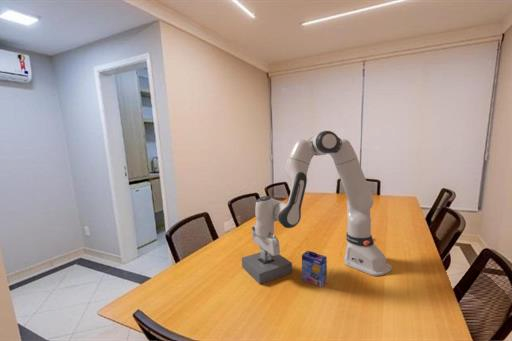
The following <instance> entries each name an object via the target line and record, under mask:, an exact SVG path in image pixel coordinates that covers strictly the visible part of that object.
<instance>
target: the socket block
mask: <svg viewBox="0 0 512 341" xmlns="http://www.w3.org/2000/svg"><path fill="white" fill-rule="evenodd" d="M241 267H242V268H243V269H244V271H245V272H247V273H248V275H249V276H251V277H252V279H254V280H255V282H256V283H258V284H259V285H262V284H264V283H267V282H270V281H273V280H276V279H278V278H281V277H283V276H284V277H285V276H286V275H289V274H293V262H292V261H291V260H288V259H287V258H286V257H284V256H283V255H281V254H279V255H276V256H272V262H271V263H268V264H262V263H261V257H260V252H257V253H253V254H250V255H245V256H243V257H241Z"/></svg>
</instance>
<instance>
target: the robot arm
mask: <svg viewBox="0 0 512 341" xmlns="http://www.w3.org/2000/svg"><path fill="white" fill-rule="evenodd" d="M327 154H328V155H329V156H330V157H331V158H332V160H333V163H334V165H335V168H336V172H337V173H338V176H339V179H340V181H341V184H342V187H343V190H344V193H345V196H346V207H347V208H346V210H347V212H346V213H347V217H346V218H347V223H346V224H347V231H346V236H345V237H346V238H345V239H346V248H345V252H344V255H343V256H344V257H343V260H344V265H345V266H348V267H350V268H353V269H355V270H358V271H360V272H363V273H366V274H368V275H370V276H373V277H375V276H376V277H379V276H383V275H386V274H388V273H390V272H391V271H392V268H393V267H392V265H391V264H389V263H387V259H386V258H387V257H386V255H385V253H383V252H382V250H381V249H380V248H379V247H378V246H377V245H376V244H375V242H376V238H373V235H372V233H371V232H372V219H371V218H372V217H371V209H372V208H373V206H374V205H373V204H374V196H373V194H372V191H371V189H370V186H369V183H368V182H367V181H368V180H366V176H365V174H364V171H363V169H362V167H361V163H360V161H359V159H358V155H357V153H356V151H355V149H354V147H353V145H352V144H351V142H350V141H349V140H348V139H344V138H342V139H341V138H340V137H339V136H338V135H337V134H336V133H335V132H334V131H331V130H323V131H320V132H318V133H316V134H315V135H314V136H312V137H310V138H309V139H308V140H306V139H298V140H296V142H294V145H293V146H292V148H291V150H290V152H289V154H288V158H287V159H286V163H285V168H284V169H285V170H284V171H285V173H286V176H287V177H288V178H289V181H290V182H291V189H290V193H289V196H288V201H287V202H285V201H283V200H278V199H275V198H273V197H272V196H269V195H265V196H264V195H263V196H260V197H259V198H258V199H257V200H256V202H255V207H254V208H255V210H254V211H255V212H254V213H255V218H256V220H255V221H256V222H255V224H254V225H250V226H251V235H252V237H251V238H252V241H253V243H254V244H256V245H257V246H258V247H259V249H260V248H263V249H264V250H265V251H267V253H268V255H267V259H268V260H271V256H276V255H279V254H280V253H281V248H280V241H279V239H278V237H277V236H276V235H275V222H278V223H279V224H280V225H281V226H283V228H286V229H293V228H295V227H296V226H298V224H299V223H300V221H301V218H302V217H301V216H302V205H303V200H304V195H305V192H306V188H307V184H308V179H307V177H308V172H309V168H310V164H311V161H312V159H313V158H314V156H325V155H327ZM280 255H281V254H280Z"/></svg>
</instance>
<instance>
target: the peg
mask: <svg viewBox="0 0 512 341" xmlns="http://www.w3.org/2000/svg"><path fill="white" fill-rule="evenodd" d="M259 250H260V257H261V263H262V264H268V263H271V262H272V256H271V260H268V259H267V255H268V253H267V251H265V250H264V249H263V248H259Z"/></svg>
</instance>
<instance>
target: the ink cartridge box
mask: <svg viewBox="0 0 512 341" xmlns="http://www.w3.org/2000/svg"><path fill="white" fill-rule="evenodd" d="M327 258H328V257H327V255H323V254H319V253H317V252H314V251H310V250H306V251H305V252H304V253H302V254H301V273H302V275H301V278H302V281H304V282H307V283H310V284H313V285H314V286H317V287H320V288H323V287H324V286H325V285H326V284H327V282H328V270H327V268H328V266H327V262H328V261H327Z"/></svg>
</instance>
